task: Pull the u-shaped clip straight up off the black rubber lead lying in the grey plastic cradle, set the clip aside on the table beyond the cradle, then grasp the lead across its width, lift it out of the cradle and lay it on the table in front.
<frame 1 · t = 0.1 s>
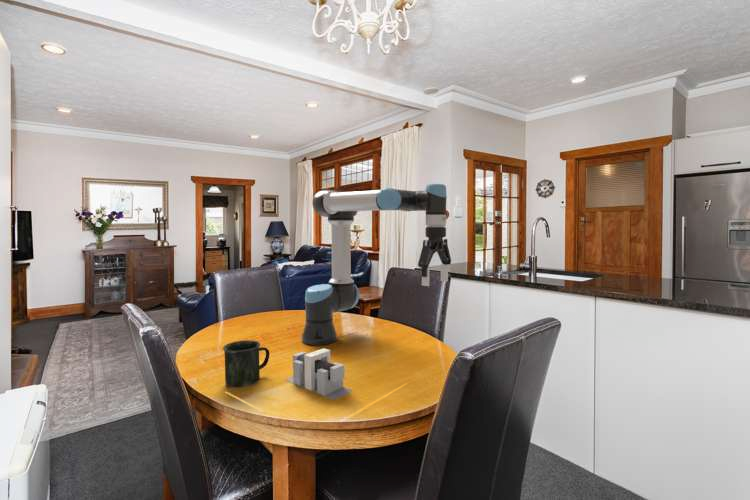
hand: (435, 283, 145), 28 cm above the table, fingers open, 13 cm apart
cradle: (317, 386, 120), on the table
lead: (317, 372, 120), point 5 cm above the table, touching cradle
u-shaped clip: (317, 385, 120), point 1 cm above the table, touching cradle
mug: (247, 381, 125), on the table
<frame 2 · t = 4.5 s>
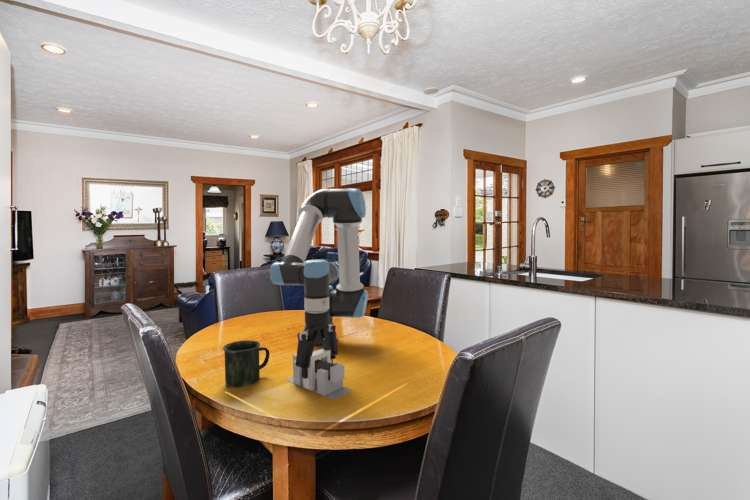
hand: (317, 383, 120), 1 cm above the table, fingers closed on u-shaped clip, 8 cm apart
u-shaped clip: (317, 385, 120), point 1 cm above the table, touching cradle, gripper
everything else where it was.
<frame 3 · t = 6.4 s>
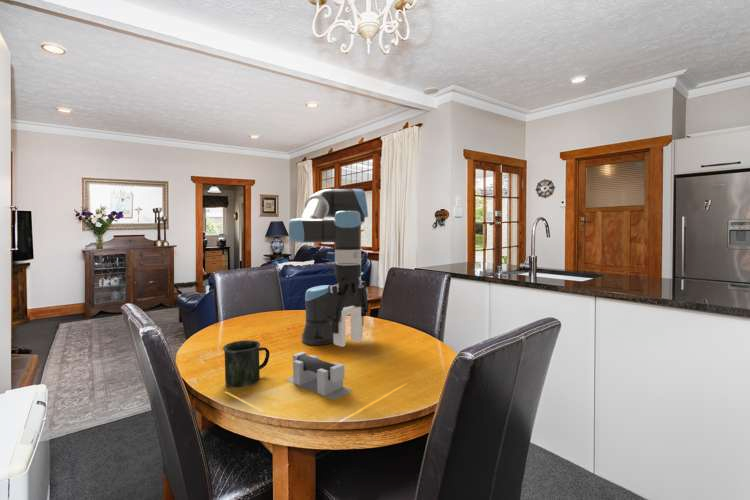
hand: (348, 340, 115), 16 cm above the table, fingers closed on u-shaped clip, 8 cm apart
u-shaped clip: (348, 342, 115), point 15 cm above the table, touching gripper
everything else where it was.
when the fingers open (2 cm above the table, at t = 8.6 s): u-shaped clip drops 1 cm, on the table.
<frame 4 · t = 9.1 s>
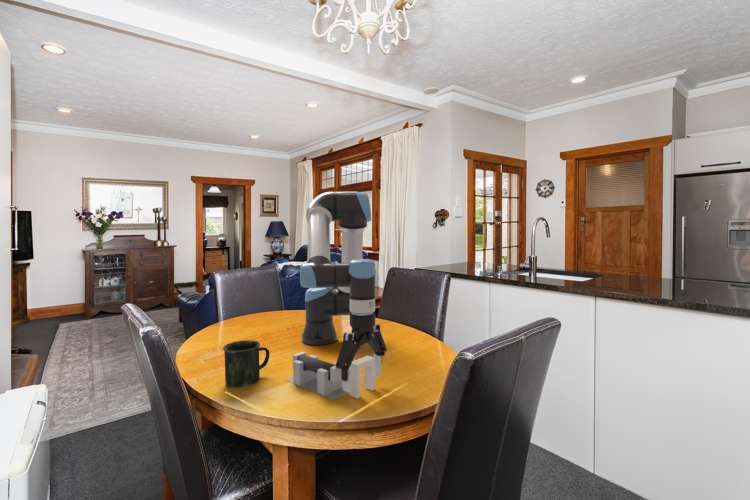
hand: (362, 383, 115), 3 cm above the table, fingers open, 13 cm apart
u-shaped clip: (362, 394, 115), on the table
everything else where it was.
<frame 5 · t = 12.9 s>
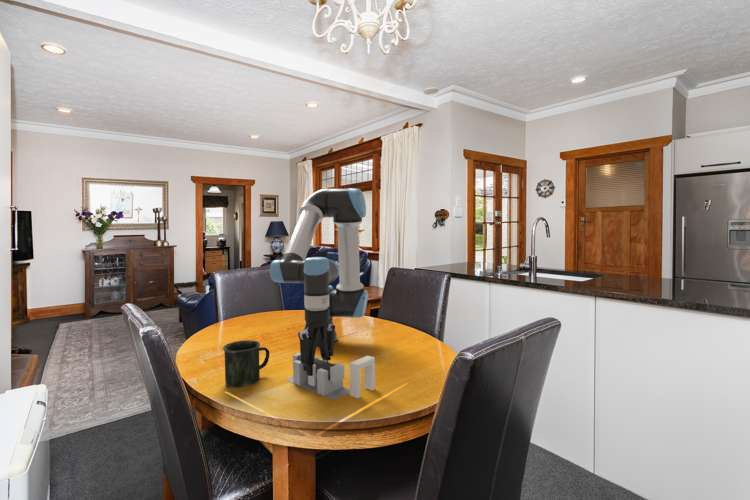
hand: (317, 382, 120), 1 cm above the table, fingers closed on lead, 4 cm apart
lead: (317, 372, 120), point 5 cm above the table, touching gripper
everything else where it was.
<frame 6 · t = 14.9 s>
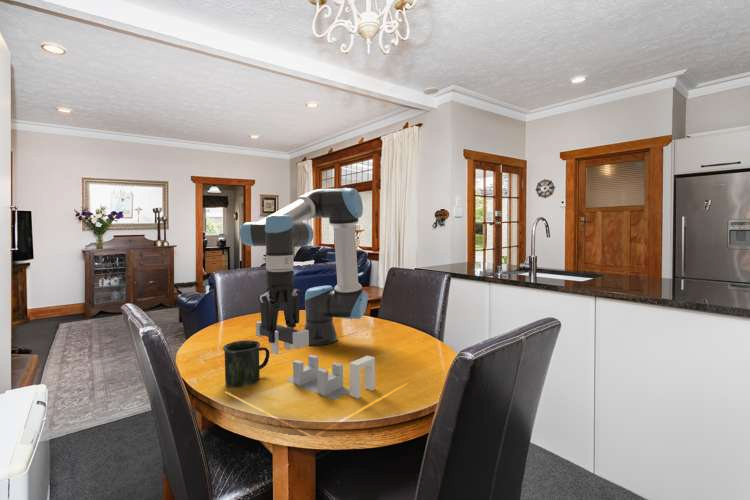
hand: (281, 351, 111), 14 cm above the table, fingers closed on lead, 4 cm apart
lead: (281, 340, 111), point 17 cm above the table, touching gripper
everything else where it was.
when the fingers open (0 cm above the table, at t = 17.2 s): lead drops 3 cm, on the table.
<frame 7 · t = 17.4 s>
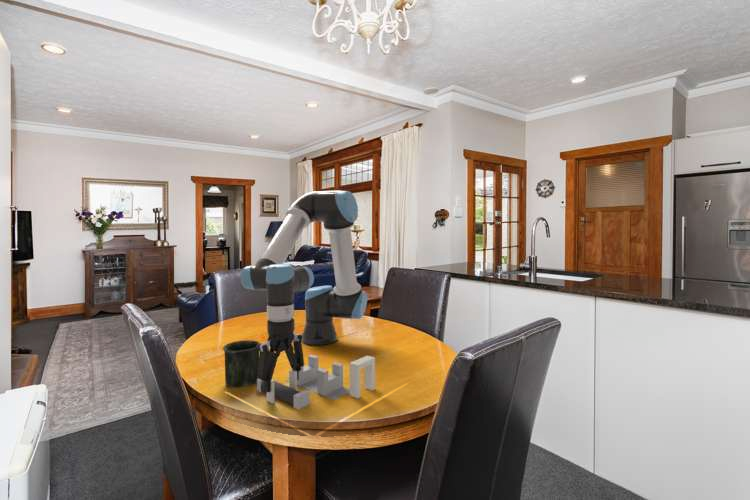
hand: (282, 396, 112), 1 cm above the table, fingers open, 7 cm apart
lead: (282, 398, 112), on the table
everything else where it was.
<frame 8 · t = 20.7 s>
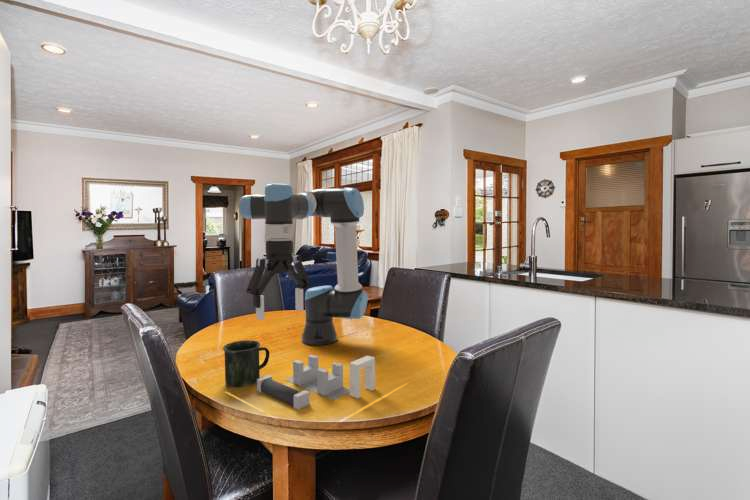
hand: (280, 314, 110), 25 cm above the table, fingers open, 13 cm apart
nothing on the table moved.
at the end: u-shaped clip moved 14.9 cm from its start; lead inside the target area (1.2 cm from its centre), on the table; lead touching table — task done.
